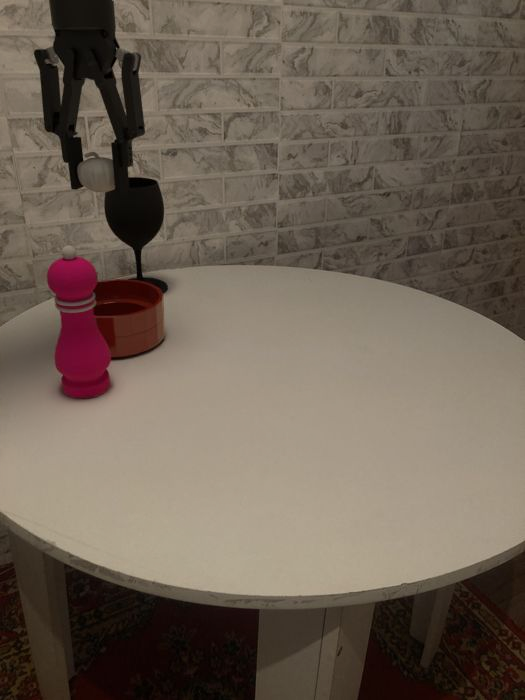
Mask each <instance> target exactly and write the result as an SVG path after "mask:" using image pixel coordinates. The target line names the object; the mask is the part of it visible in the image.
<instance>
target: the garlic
mask: <svg viewBox="0 0 525 700" xmlns="http://www.w3.org/2000/svg"><path fill="white" fill-rule="evenodd" d="M86 158H87V159H86ZM84 159H85V160H83V162H81V163H80V164H79V165H78V168H77V173H78V177H79V180H80V182H81V184H82V185H83V186H84V187H83V188H85V189H87V190H89V191H91V192H94V193H105V192H108V191H111V190H114V189H115V182H114V170H113V159H112V158H109V157H104V156H100V155H99V154H98V153H97V152H96V151H90V152H86V153H85V154H84Z"/></svg>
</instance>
